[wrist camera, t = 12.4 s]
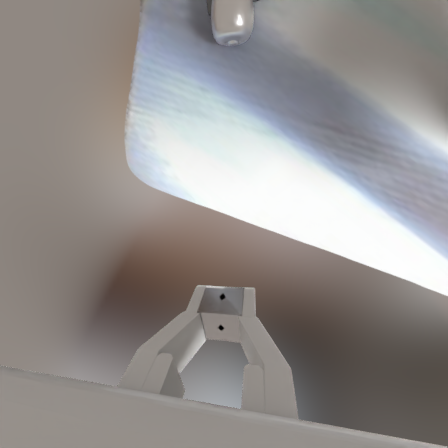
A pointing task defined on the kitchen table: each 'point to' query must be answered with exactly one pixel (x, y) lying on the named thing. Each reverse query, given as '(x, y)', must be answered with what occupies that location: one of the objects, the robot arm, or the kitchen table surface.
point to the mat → (209, 4)
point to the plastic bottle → (232, 21)
